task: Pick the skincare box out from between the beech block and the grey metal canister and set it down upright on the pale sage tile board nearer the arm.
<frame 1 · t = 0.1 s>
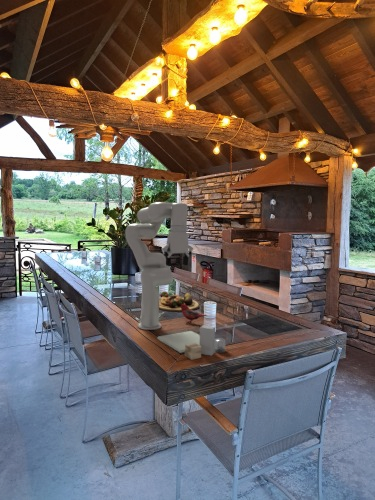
hand: (176, 265, 170), 37 cm above the table, tool pointing down, fingers open, 9 cm apart
sage tile board: (186, 342, 172), on the table
wooden plate with food: (175, 306, 242), on the table
beech block: (192, 356, 154), on the table
grey metal canister: (219, 350, 163), on the table
decorative bird figurine: (192, 323, 203), on the table
skincare box: (206, 353, 159), on the table
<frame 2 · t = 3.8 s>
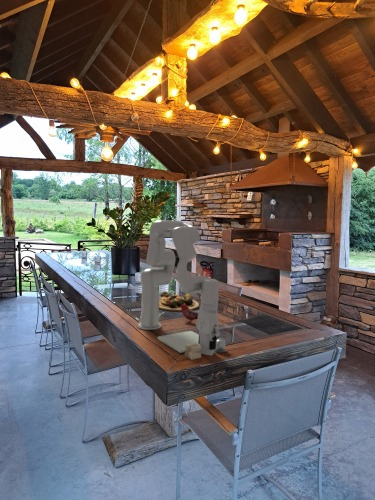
hand: (206, 346, 158), 3 cm above the table, tool pointing down, fingers closed on skincare box, 7 cm apart
skincare box: (206, 353, 159), on the table, touching gripper
everything else where it was.
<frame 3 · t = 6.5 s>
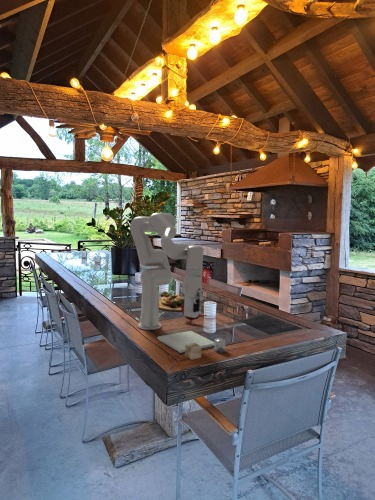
hand: (191, 309, 168), 17 cm above the table, tool pointing down, fingers closed on skincare box, 7 cm apart
skincare box: (190, 316, 168), point 13 cm above the table, touching gripper
everything else where it was.
when the fingers open (6 cm above the table, at t = 9.6 s): skincare box drops 1 cm, resting on sage tile board.
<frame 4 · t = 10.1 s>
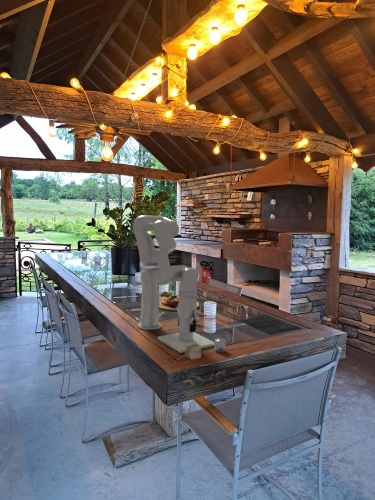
hand: (186, 329, 171), 6 cm above the table, tool pointing down, fingers open, 9 cm apart
skincare box: (185, 339, 172), point 1 cm above the table, touching sage tile board
everything else where it was.
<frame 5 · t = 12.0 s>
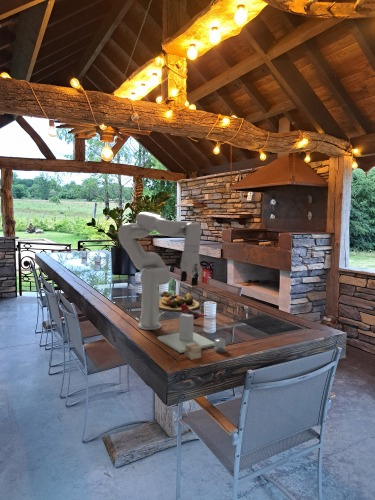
hand: (188, 283, 175), 28 cm above the table, tool pointing down, fingers open, 9 cm apart
nothing on the table moved.
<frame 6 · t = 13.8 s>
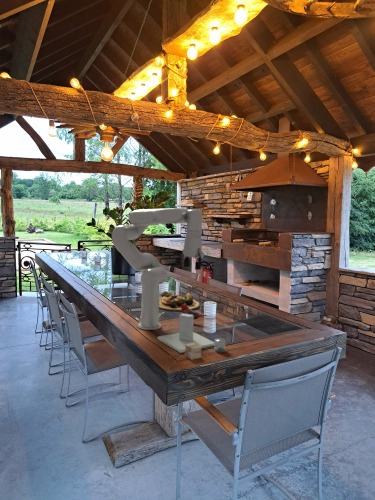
hand: (192, 268, 180), 34 cm above the table, tool pointing down, fingers open, 9 cm apart
nothing on the table moved.
at the end: skincare box inside the target area on the sage tile board (0.4 cm from its centre), point 1.0 cm above the sage tile board's base; skincare box tilted 0°; the gripper is holding nothing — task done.
